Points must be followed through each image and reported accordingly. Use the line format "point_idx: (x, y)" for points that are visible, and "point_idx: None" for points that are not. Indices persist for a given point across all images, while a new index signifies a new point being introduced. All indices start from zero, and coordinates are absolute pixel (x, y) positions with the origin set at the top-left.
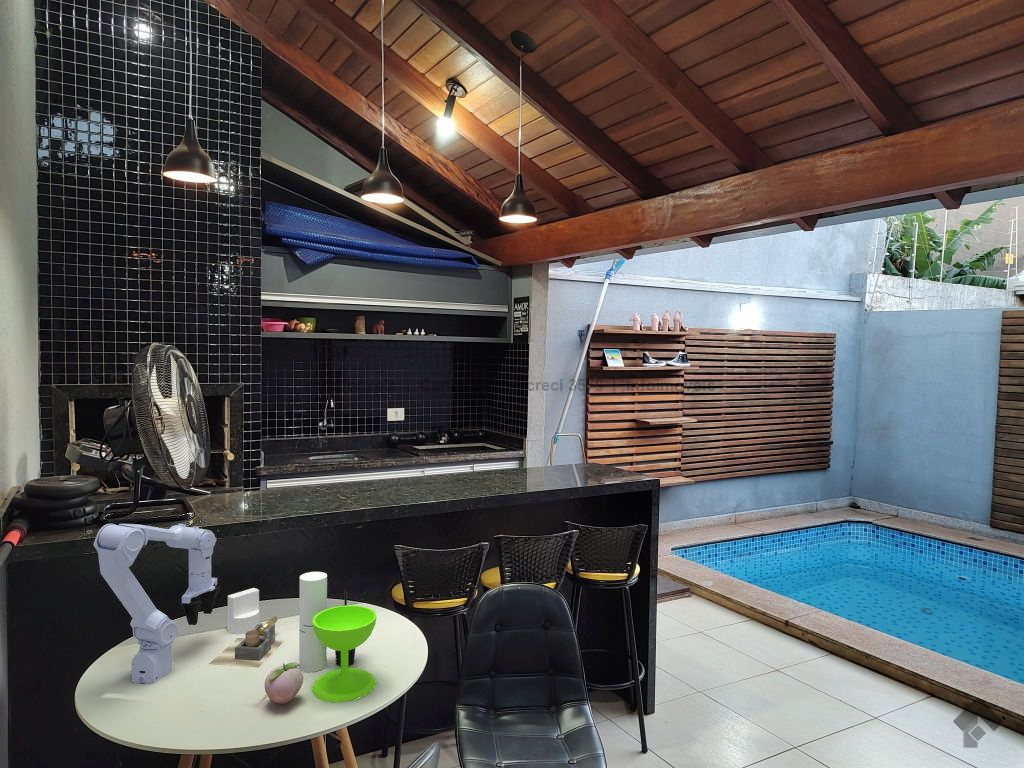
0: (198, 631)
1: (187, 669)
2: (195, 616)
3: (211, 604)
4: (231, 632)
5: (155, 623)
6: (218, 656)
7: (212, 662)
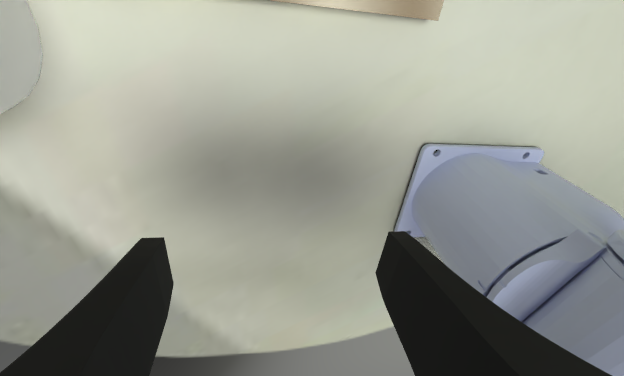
0: (67, 244)
1: (418, 115)
2: (467, 287)
3: (123, 316)
4: (23, 67)
5: None
6: (355, 1)
7: (425, 4)
